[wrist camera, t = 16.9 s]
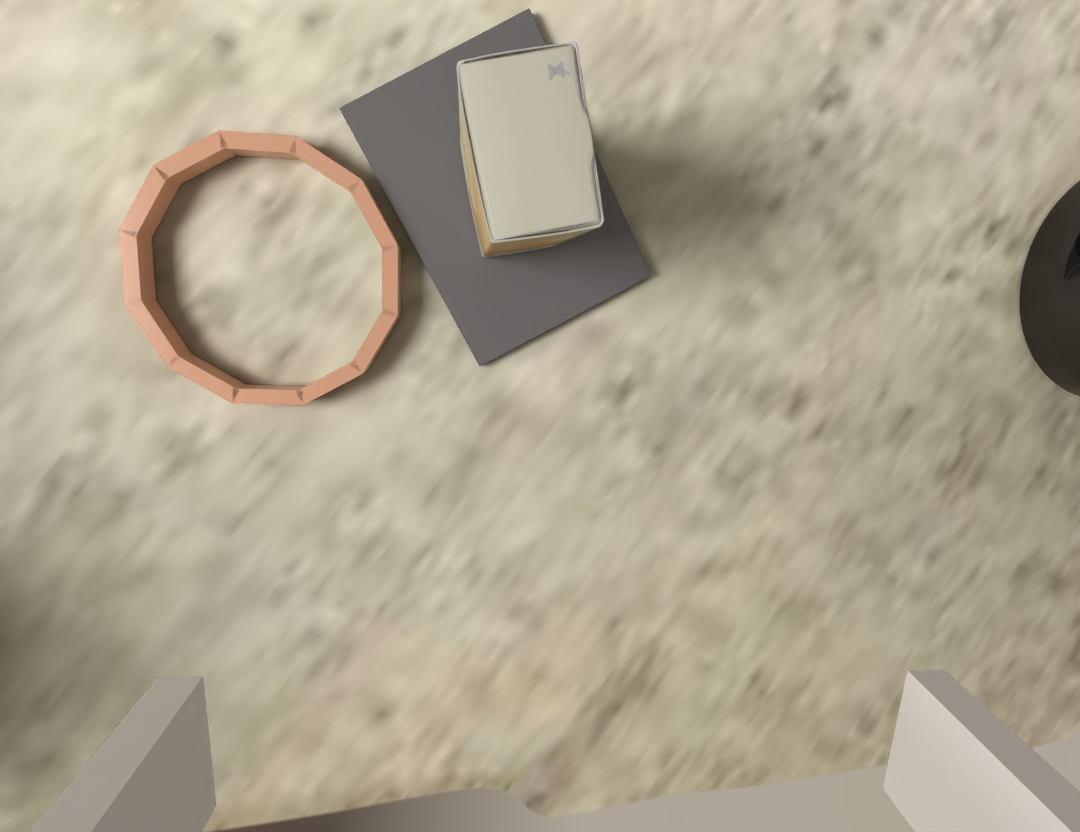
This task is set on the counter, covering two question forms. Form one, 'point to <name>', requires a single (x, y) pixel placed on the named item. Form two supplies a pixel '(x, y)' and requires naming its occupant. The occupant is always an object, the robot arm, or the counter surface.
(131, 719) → the robot arm
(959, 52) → the counter surface
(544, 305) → the rubber mat
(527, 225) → the skincare box
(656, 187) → the counter surface
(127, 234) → the pink polygonal ring
